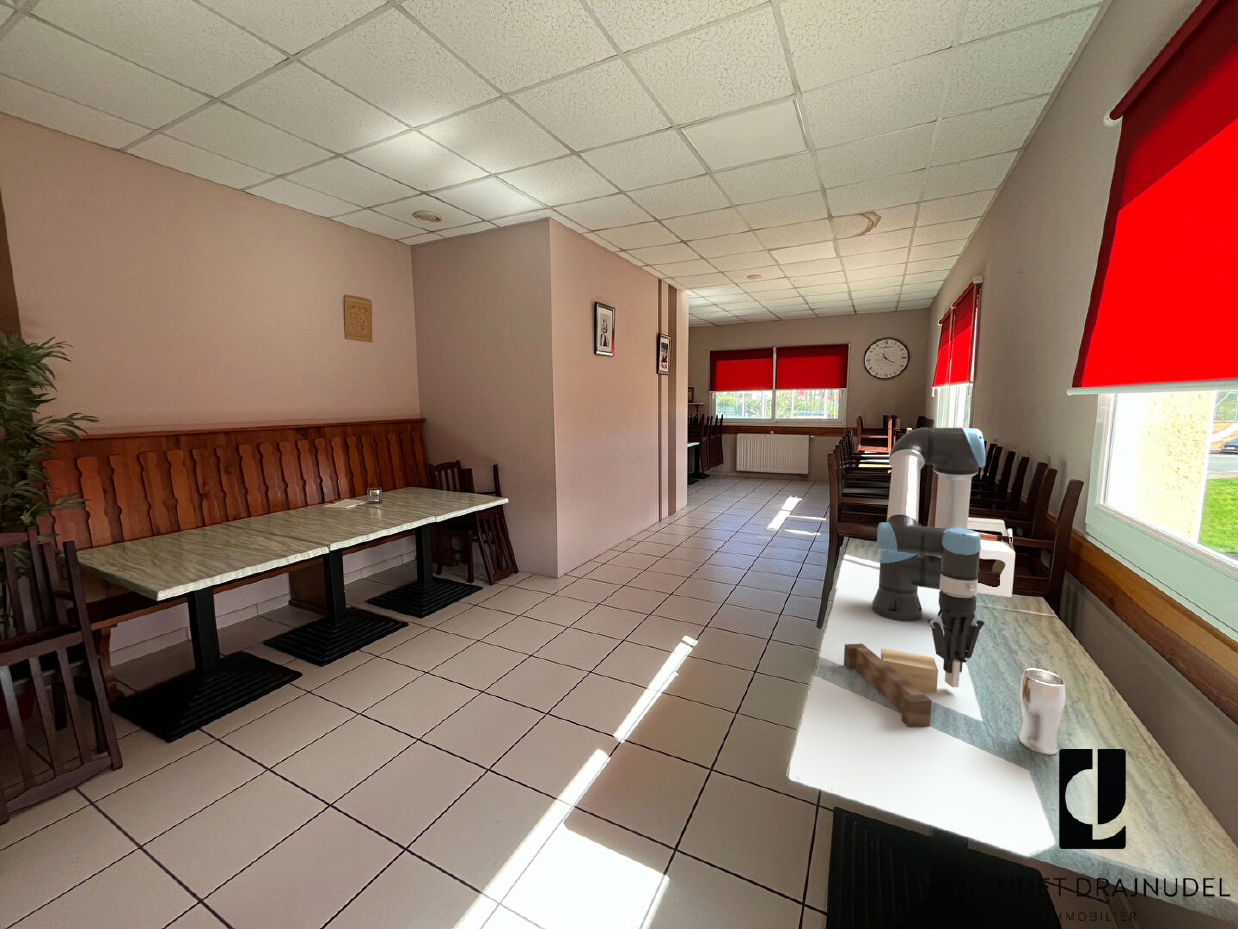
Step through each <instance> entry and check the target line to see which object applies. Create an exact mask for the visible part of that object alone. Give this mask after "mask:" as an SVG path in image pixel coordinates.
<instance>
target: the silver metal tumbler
mask: <svg viewBox="0 0 1238 929" xmlns="http://www.w3.org/2000/svg"><path fill="white" fill-rule="evenodd" d="M1019 689H1020V690H1019V691H1020V692H1019V698H1020V707H1021V709H1020V710H1021V715H1022V727H1021V730H1020V733H1019V736H1018V740H1019V742H1020V743H1021V744H1022V745H1023V746H1024V747H1025V748H1028V749H1029V750H1031V751H1033V752H1035V753H1039V754H1043V755H1048V756H1052V755H1056V754H1057V753H1058V744H1057V732H1058V729H1059V725H1060V722H1061V721H1062V717H1063V714H1064V711H1065V704H1066V680H1064V678H1062V677H1061V676H1059V675H1057V674H1055V673H1052V672H1050V671H1046V670H1043V669H1039V668H1026V669H1024V670H1023V671H1022V677H1021V682H1020V688H1019Z"/></svg>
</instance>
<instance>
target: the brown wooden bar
mask: <svg viewBox="0 0 1238 929" xmlns="http://www.w3.org/2000/svg"><path fill="white" fill-rule="evenodd" d="M843 650H844V652H843V653H844V654H843V656H844V657H843V666H844V665H845V666H846V667H847V668H848V669H852V670H856V671H857V672H858V673H859V674H860V675H861V676H862V675H863V676H864V677H865V678H866V679H865V678H864V677H863V676H862V677H863V678H864V679H865V680H866V681H868V682H869V684H871V686H873V687H874V689H876V690H877V691H878V692H879V693H881V695H882V696H884V698H886V700H888V701H889V702H890V703H891V704H892V705H893V706H894V707H895V708H896V709H897V710H898V711H900V712H901V720H900V721H901V722H902V723H903V724H904V725H905V726H906V727H907V728H921V727H923V728H924V727H931V716H932V715H931V714H932V700H931V699H930V698H929V697H928V696H927V695H925V694H924V693H923V692H922V691H921V690H920V689H917V688H916V687H914V686H913V685H912V684H911V683H910V682H908V681H907V680H906V679H905V678H903V677H902V676H901V675H900V674H899V673H897V672H896V671H895V670H894V669H893V668H891V667H890V666H889V665H888V664H886V663H885V662H884V661H883V660H882V659H881V657H879V656H878V655H877V654H876V653H874V652H873V651H872V650H870V649H869V648H868V647H867V646H866V645H865V644H864V643H846V644H845V643H844V649H843ZM845 666H844V667H845ZM846 667H845V668H846ZM847 668H846V669H847ZM848 669H847V670H848Z"/></svg>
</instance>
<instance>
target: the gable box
mask: <svg viewBox="0 0 1238 929" xmlns="http://www.w3.org/2000/svg"><path fill="white" fill-rule="evenodd" d="M967 529H969V530H977V531H989V532H999V533H1001V534H1002V535H1001V536H1008V537H1009V544H1008V543H1006V542H1003V540H1002V539H1001V541H1000V540H988V539H981V550H980V558H979V559H982V560H995V562H994V563H993V565H992V573H993V572H999V573H1001V574H1000V578H999V579H1000V585H999V586H997V587H992V586H988V585H985V584H982V583H978V586H977V594H982V595H990V596H996V597H1004V598H1005V597H1006V598H1012V597H1013V586H1014V585H1013V584H1014V574H1015V564H1016V563H1015V561H1016V551H1015V548H1014V545H1013V541H1012V542H1011V539H1010V537H1012V538H1013V529H1012V528H1007V527H1006V524H1005V521H1004V520H1003V519H995V518H985V517H984V518H983V517H970V516H968V524H967Z"/></svg>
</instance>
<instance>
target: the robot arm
mask: <svg viewBox="0 0 1238 929" xmlns="http://www.w3.org/2000/svg"><path fill="white" fill-rule="evenodd" d="M888 456H889V458H888V463H889V466H890V467H891V473H890V474H891V475H890V476H891V477H890V483H889V496H888V497H889V498H888V506H887V516H886V521H885V522H884V521H883V522H879V523H878V525H877V535H876V536H877V539H876V544H877V547H878V548H879V549H881V550H880V558H879V560H878V561H879V575H878V576H879V577H878V578H879V579H878V588H877V590H876V592H875V595H874V597H873V600H872V601H871V609H872V610H873V612H874V613H876V614H878V615H880V616H882V617H884V618H888V619H890V620H891V619H892V620H896V621H902V622H903V621H906V622H911V621H912V622H914V621H919V620H921V619H922V618H923V608H922V604H921V601H920V598H919V595H918V588H927V589H934V590H938V591H939V592H938V594H939V595H938V605H939V611H938V612H937V616H936V617H935V618H933V619H932V618H928V620H927V623H928V625H929V627H930V628H931V631H932V632H931V633H932V638H933V639H932V640H933V644H934V650H935V654H936V655H937V656H939V657H940V658H941V659H942V660H943V665H942V666H943V667H942V668H943V671H944V682H945V683H946V684H947V685H949V686H950V687H952V688H959V685H960V674H961V673H962V672H963V663H965V664H966V663H967V659H971V658H972V657H973V653H974V649H975V646H976V643H977V641H978V637H979V634H980V630H981V629H982V628H983V626H985V622H984V621H983V620H981V619H979V618H977V617H976V614H975V612H976V610H977V600H978V598H977V596H976V595H977V594H978V593H977V586H978V574H979V567H980V559H981V558H980V550H981V540H982V538H981V534H980V533H979V532H978V531H974V529H967V524H968V517H969V510H970V500H971V498H970V497H971V490H972V489H971V487H972V477H974V476H976V475H977V474H979V468H982V467H985V466H986V449H985V441H984V436H983V432H982V431H981V430H980V429H979V428H973V427H972V428H969V427H963V426H962V427H920V428H915V429H912V430H910V431H908V432H907V433H905V434H904V435H902V436H901V437H900V438H899V439H898V440H896V442H895V443H894V444H893V446H892V448H891V450H890V452H889V455H888ZM925 465H929V466H930V465H932V466H933V467H932V471H933V472H934V473H936V475H938V476H937V477H938V478H937V491H936V492H937V494H936V505H935V507H936V508H935V520H934V526H933V527H931V526H924V525H923V526H922V525H919V506H920V504H919V502H920V482H921V470H922V469H923V467H924V466H925Z"/></svg>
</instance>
